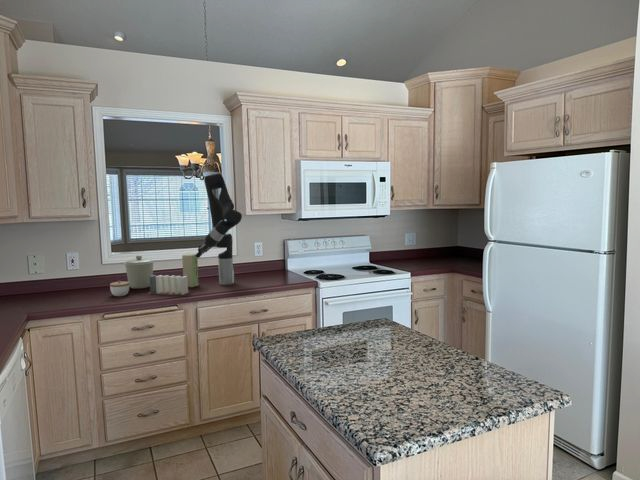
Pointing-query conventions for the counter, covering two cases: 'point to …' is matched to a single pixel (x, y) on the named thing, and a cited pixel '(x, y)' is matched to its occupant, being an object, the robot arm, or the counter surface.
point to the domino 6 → (184, 285)
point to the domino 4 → (171, 284)
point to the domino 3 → (165, 284)
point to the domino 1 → (153, 283)
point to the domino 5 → (177, 284)
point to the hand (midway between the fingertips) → (197, 256)
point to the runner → (167, 293)
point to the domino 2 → (159, 283)
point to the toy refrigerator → (190, 269)
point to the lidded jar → (119, 288)
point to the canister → (139, 272)
